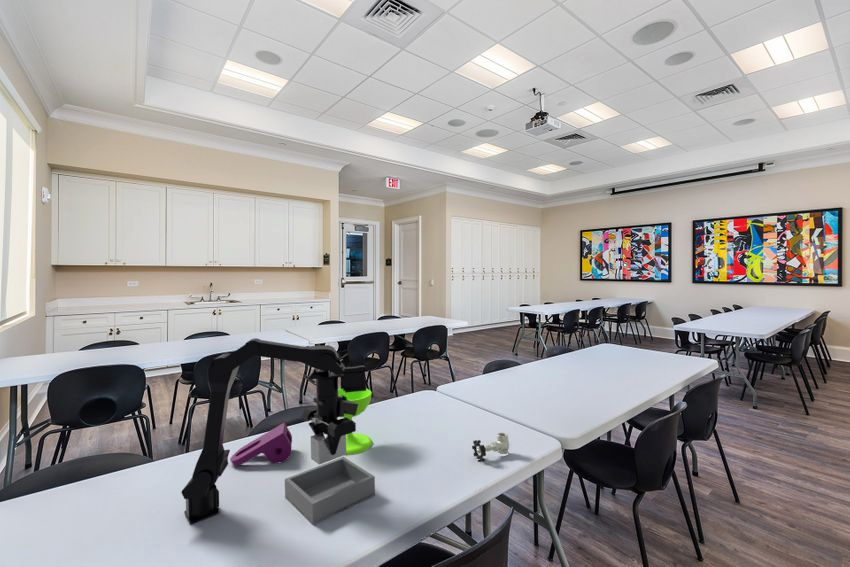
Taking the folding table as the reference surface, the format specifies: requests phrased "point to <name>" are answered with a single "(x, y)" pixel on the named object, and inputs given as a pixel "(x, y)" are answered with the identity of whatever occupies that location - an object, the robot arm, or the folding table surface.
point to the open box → (329, 489)
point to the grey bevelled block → (325, 449)
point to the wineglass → (362, 398)
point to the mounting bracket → (267, 447)
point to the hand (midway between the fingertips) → (328, 451)
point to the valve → (492, 446)
